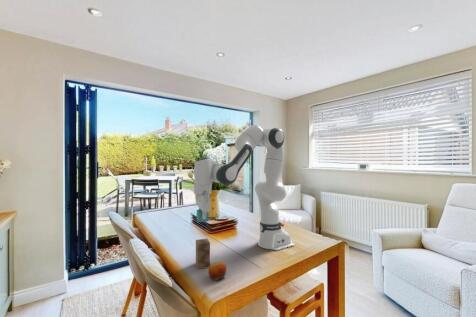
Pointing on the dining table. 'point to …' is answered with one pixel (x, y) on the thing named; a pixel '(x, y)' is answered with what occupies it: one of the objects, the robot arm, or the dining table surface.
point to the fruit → (217, 270)
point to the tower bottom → (202, 261)
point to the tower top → (202, 247)
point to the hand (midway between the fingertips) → (202, 217)
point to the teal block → (199, 216)
